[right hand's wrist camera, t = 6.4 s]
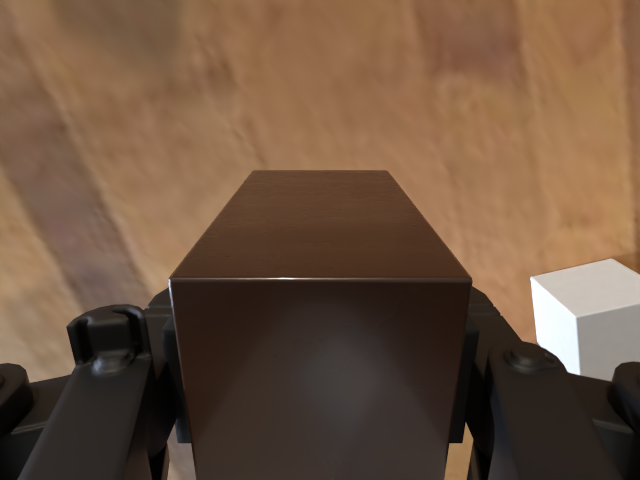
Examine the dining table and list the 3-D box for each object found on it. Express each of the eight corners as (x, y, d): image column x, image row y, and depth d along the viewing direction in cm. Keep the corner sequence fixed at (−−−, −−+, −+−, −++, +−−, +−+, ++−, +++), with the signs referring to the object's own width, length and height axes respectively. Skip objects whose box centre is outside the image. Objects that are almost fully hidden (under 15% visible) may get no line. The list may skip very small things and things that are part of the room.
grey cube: (536, 342, 28) (580, 393, 23) (529, 276, 26) (575, 317, 21) (614, 325, 27) (674, 374, 23) (611, 257, 26) (676, 294, 21)
